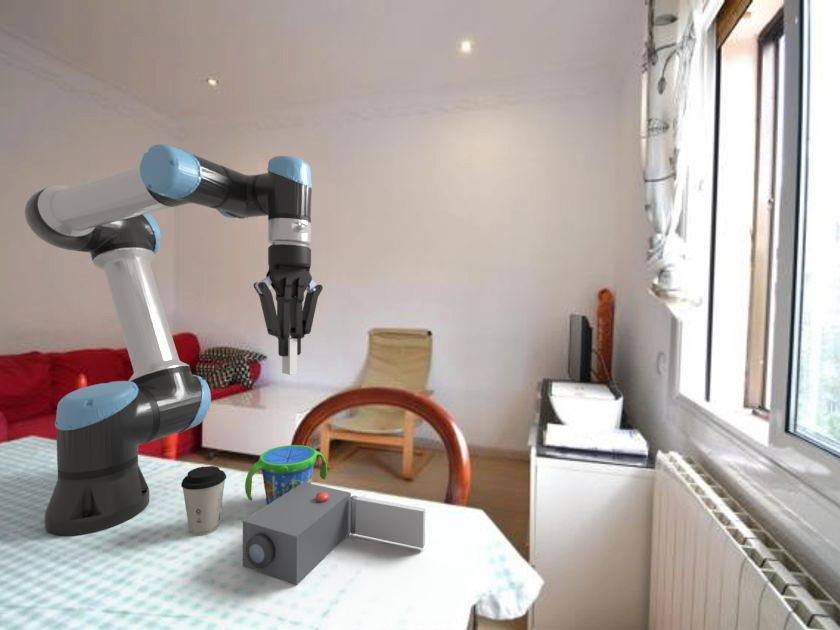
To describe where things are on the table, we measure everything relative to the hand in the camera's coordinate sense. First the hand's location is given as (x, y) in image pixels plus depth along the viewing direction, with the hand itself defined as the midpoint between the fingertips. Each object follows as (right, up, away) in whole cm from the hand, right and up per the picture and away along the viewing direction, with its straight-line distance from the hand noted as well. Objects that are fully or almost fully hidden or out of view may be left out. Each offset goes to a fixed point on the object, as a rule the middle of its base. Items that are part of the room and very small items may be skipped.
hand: (289, 373), depth 74 cm
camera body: (+5, -27, -10) cm, 29 cm away
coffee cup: (-13, -27, -4) cm, 30 cm away
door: (+19, -26, -8) cm, 33 cm away
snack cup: (-1, -27, +4) cm, 27 cm away
